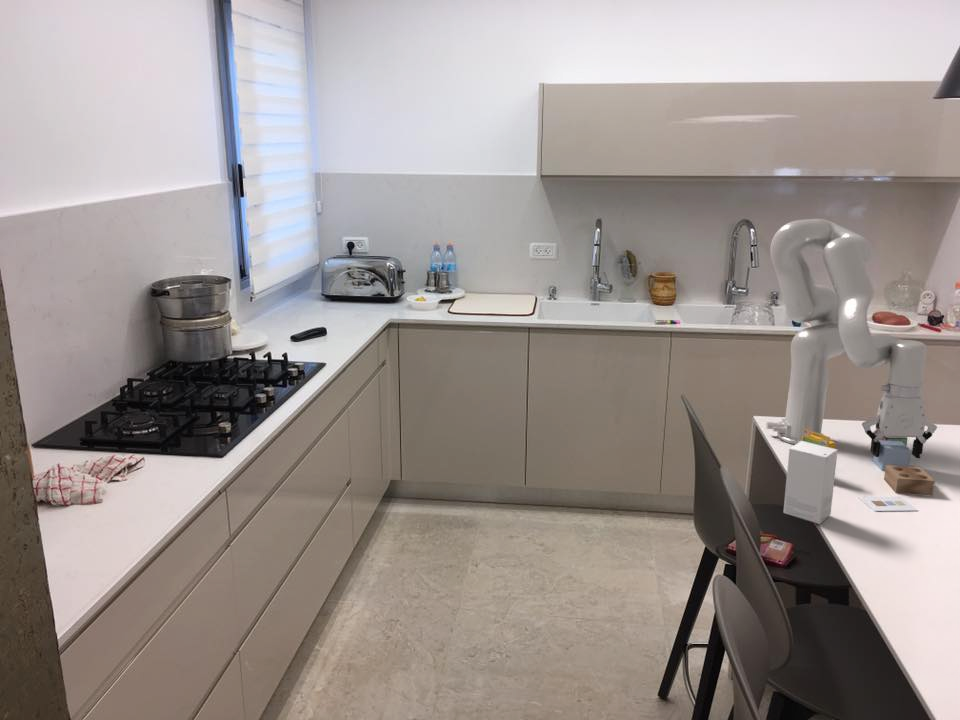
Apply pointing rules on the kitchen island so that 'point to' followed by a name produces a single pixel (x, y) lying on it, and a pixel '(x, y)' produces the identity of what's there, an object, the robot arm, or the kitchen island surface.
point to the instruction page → (887, 504)
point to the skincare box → (810, 481)
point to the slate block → (892, 454)
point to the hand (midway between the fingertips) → (895, 455)
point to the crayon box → (817, 439)
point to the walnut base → (909, 480)
